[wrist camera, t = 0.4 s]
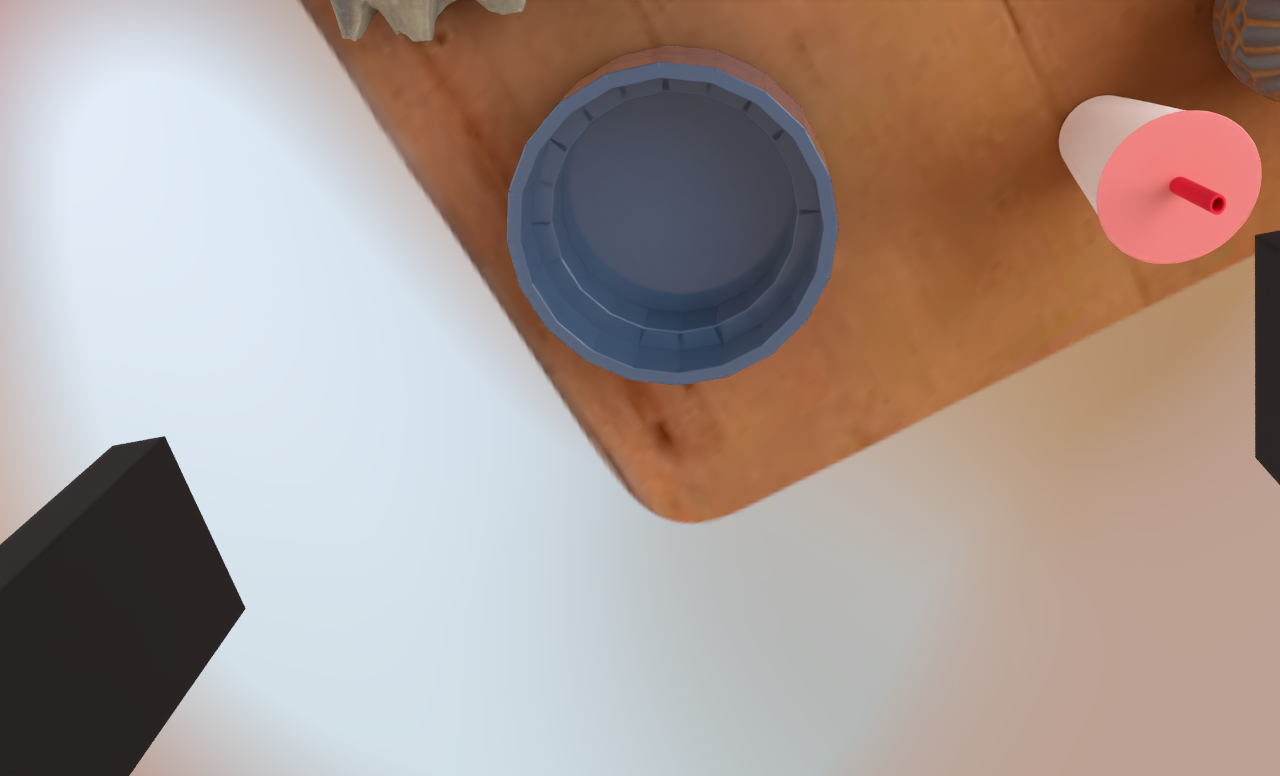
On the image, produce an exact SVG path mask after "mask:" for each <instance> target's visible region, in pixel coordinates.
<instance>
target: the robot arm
mask: <svg viewBox="0 0 1280 776" xmlns="http://www.w3.org/2000/svg"><path fill="white" fill-rule="evenodd" d="M1255 420H1256V421H1255V433H1256V434H1255V444H1256V445H1255V452H1256V453H1255V455H1256V456H1255V457H1256V459H1257V460H1258V461H1259V462H1260V463H1261V464H1262V465H1263V467H1264V468H1265V469H1266V470H1267V471H1268V472H1269V473H1270V474H1271V476H1272V477H1273V478H1274V479H1275V480H1276V481H1277V482H1278V483H1279V485H1280V231H1275V232H1269V233H1264V234H1259V235H1255ZM244 610H245V606H244V604H243V603H242V600H241V598H240V596H239V594H238V592H237V589H236V587H235V585H234V583H233V581H232V579H231V577H230V575H229V572H228V570H227V568H226V566H225V564H224V562H223V559H222V557H221V555H220V553H219V551H218V549H217V547H216V545H215V543H214V540H213V538H212V536H211V534H210V532H209V530H208V527H207V525H206V523H205V521H204V519H203V517H202V515H201V513H200V510H199V508H198V506H197V504H196V502H195V500H194V498H193V495H192V494H191V492H190V489H189V487H188V485H187V483H186V481H185V479H184V476H183V474H182V472H181V470H180V468H179V466H178V463H177V461H176V459H175V457H174V455H173V453H172V451H171V449H170V447H169V444H168V442H167V440H166V438H165V437H158V438H153V439H147V440H143V441H137V442H131V443H126V444H120V445H115V446H112V447H111V448H110V449H109V450H107V451H106V452H105V453H104V454H103V455H102V456H101V457H99V458H98V459H97V460H96V461H95V462H94V463H93V464H92V465H90V466H89V467H88V468H87V469H86V470H85V471H84V472H82V473H81V474H80V475H79V476H78V477H77V478H76V479H74V480H73V481H72V482H71V483H70V484H69V485H68V486H66V487H65V488H64V489H63V490H62V491H61V492H60V493H59V494H58V495H56V496H55V497H54V498H53V499H52V500H51V501H50V502H48V503H47V504H46V505H45V506H44V507H43V508H42V509H40V510H39V511H38V512H37V513H36V514H35V515H34V516H32V517H31V518H30V519H29V520H28V521H27V522H26V523H25V524H23V525H22V526H21V527H20V528H19V529H18V530H17V531H15V532H14V533H13V534H12V535H11V536H10V537H9V538H7V539H6V540H5V541H4V542H3V543H2V544H1V545H0V776H129V775H130V774H131V772H132V771H133V770H134V768H135V767H136V765H137V764H138V762H139V761H140V760H141V758H142V757H143V755H144V754H145V752H146V751H147V750H148V748H149V747H150V745H151V744H152V742H153V741H154V739H155V738H156V736H157V735H158V734H159V732H160V731H161V729H162V728H163V726H164V725H165V724H166V722H167V721H168V719H169V718H170V716H171V715H172V714H173V712H174V711H175V709H176V708H177V706H178V705H179V703H180V702H181V701H182V699H183V698H184V696H185V695H186V693H187V692H188V690H189V689H190V688H191V686H192V685H193V683H194V682H195V680H196V679H197V677H198V676H199V675H200V673H201V672H202V670H203V669H204V668H205V666H206V665H207V663H208V662H209V660H210V659H211V657H212V656H213V655H214V653H215V652H216V650H217V649H218V647H219V646H220V645H221V643H222V642H223V640H224V639H225V637H226V636H227V634H228V633H229V632H230V630H231V628H232V627H233V626H234V624H235V623H236V621H237V620H238V618H239V617H240V616H241V614H242V613H243V611H244Z"/></svg>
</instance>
